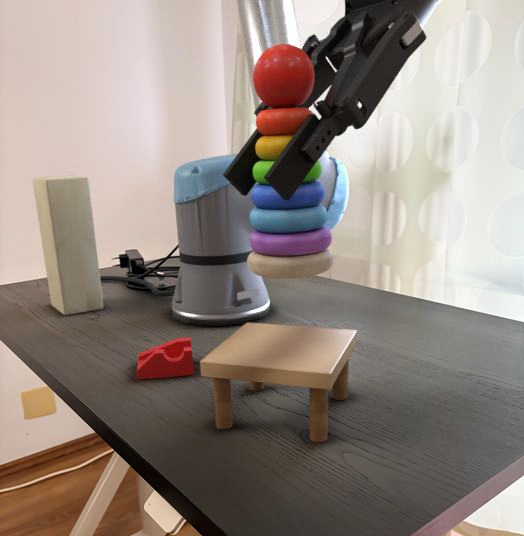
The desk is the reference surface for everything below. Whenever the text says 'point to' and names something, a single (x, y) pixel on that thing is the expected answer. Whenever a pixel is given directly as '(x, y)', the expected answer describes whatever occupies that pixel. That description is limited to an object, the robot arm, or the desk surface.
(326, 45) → the robot arm
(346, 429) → the desk surface
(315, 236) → the stacking toy
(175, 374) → the red notched block
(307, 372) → the stool
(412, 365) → the desk surface
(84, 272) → the white rectangular block
